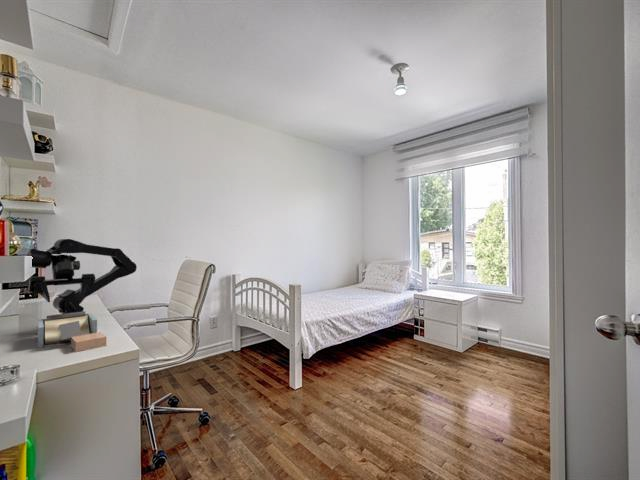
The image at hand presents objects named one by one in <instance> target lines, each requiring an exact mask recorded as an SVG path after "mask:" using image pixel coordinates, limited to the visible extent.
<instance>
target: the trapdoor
mask: <svg viewBox="0 0 640 480" xmlns="http://www.w3.org/2000/svg"><path fill="white" fill-rule="evenodd" d="M86 314H87V313H86V311H85V310H83V312H74V313H66V314H63V313H59V314H50V315H49V314H48V315H46V319H47V321H44V324H45V337H44V343H45V344H44V345H50V344H57V343H61V342H62V343H63V342H67V341H71V339H69V340H65V341H61V342H60V340H59V332H58V326H59V325H61V324H66V323H71V322H75V321H79V324H80V331H81V335H86V334H90V332H89V325H88V315H86Z"/></svg>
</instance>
